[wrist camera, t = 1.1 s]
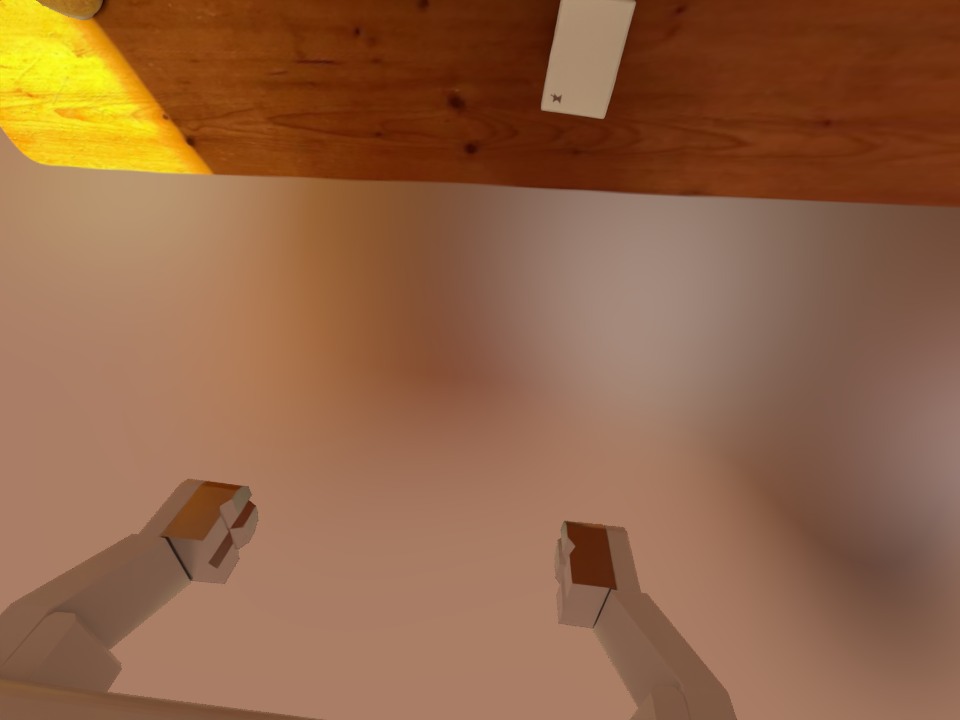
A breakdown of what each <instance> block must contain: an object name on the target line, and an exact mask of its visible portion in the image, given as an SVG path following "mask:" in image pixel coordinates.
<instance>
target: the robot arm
mask: <svg viewBox="0 0 960 720" xmlns="http://www.w3.org/2000/svg"><path fill="white" fill-rule="evenodd" d="M251 495H252V494H251V491H250V489H249V487H248V486H241V485H233V484H225V483H217V482H210V481H203V480H193V479H187V480H186V481H184V482H182V483H181V484H180V485H179V486H178V487H177V488H176V490H175V491H174V492H173V493H172V494H171V496H170V497H169V498H168V499H167V500H166V502H165V503H164V504H163V505H162V507H161V508H160V509H159V510H158V511H157V512H156V514H155V515H154V516H153V517H152V518H151V520H150V521H149V522H148V523H147V525H146V526H145V527H144V528H143V529H142V530H141V532H140V533H139V534H131V535H130V536H128V537H126V538H124V539H123V540H121V541H119V542H117V543H116V544H114V545H112V546H111V547H109V548H107V549H105V550H104V551H102V552H100V553H98V554H97V555H95V556H93V557H91V558H90V559H88V560H86V561H85V562H83V563H81V564H79V565H77V566H76V567H74V568H72V569H70V570H69V571H67V572H65V573H64V574H62V575H60V576H58V577H57V578H55V579H53V580H51V581H50V582H48V583H46V584H44V585H43V586H41V587H40V588H37V589H36V590H34V591H32V592H31V593H29V594H27V595H25V596H24V597H22V598H20V599H19V600H17V601H15V602H13V603H11V604H10V605H9V607H7V609H6V610H5V611H4V612H3V613H2V614H1V615H0V720H323V719H315V718H308V717H300V716H291V715H284V714H276V713H269V712H261V711H253V710H245V709H237V708H230V707H222V706H214V705H206V704H198V703H191V702H183V701H175V700H167V699H159V698H152V697H144V696H136V695H128V694H120V693H112V692H107V691H108V689H109V688H110V686H111V685H112V683H113V682H114V680H115V679H116V677H117V676H118V674H119V673H120V671H121V663H120V661H119V660H118V659H117V658H116V657H115V656H114V655H113V654H112V653H111V652H110V651H109V650H110V649H111V648H112V647H113V646H115V645H116V644H117V643H118V642H119V641H121V640H122V639H123V638H124V637H126V636H127V635H128V634H129V633H131V632H132V631H133V630H134V629H135V628H137V627H138V626H139V625H140V624H142V623H143V622H144V621H145V620H146V619H148V618H149V617H150V616H151V615H153V614H154V613H155V612H156V611H157V610H158V609H160V608H161V607H162V606H164V605H165V604H166V603H167V602H168V601H170V600H171V599H172V598H173V597H175V596H176V595H177V594H178V593H179V592H181V591H182V590H183V589H184V588H185V587H187V586H188V585H189V584H190V583H191V581H199V582H210V583H221V584H225V583H226V581H227V579H228V578H229V576H230V574H231V572H232V570H233V569H234V567H235V566H236V564H237V562H238V560H239V551H238V550H239V549H240V548H242V547H243V546H244V545H246V544H247V543H249V541H250V540H251V538H252V536H253V534H254V532H255V529H256V526H257V522H258V511H257V508H256V505H254V504H253V503H252V502H251V501H249V499H250V497H251ZM555 578H556V579H557V581H558V582H559V584H560V586H559V589H558V592H557V610H558V623H559V624H566V625H572V626H579V627H586V628H592V629H593V631H594V633H595V635H596V637H597V638H598V640H599V642H600V643H601V645H602V646H603V648H604V650H605V652H606V654H607V655H608V657H609V659H610V660H611V662H612V664H613V666H614V667H615V669H616V671H617V673H618V674H619V676H620V678H621V679H622V681H623V683H624V684H625V686H626V688H627V690H628V691H629V693H630V695H631V696H632V698H633V700H634V702H635V703H636V705H637V707H638V709H637V711H636V712H635V714H634V715H633V716H632V718H631V719H630V720H737V718H736V715H735V712H734V709H733V706H732V703H731V700H730V697H729V694H728V692H727V690H726V689H725V688H724V687H723V686H722V684H721V683H720V682H719V681H718V680H717V678H716V677H715V676H714V675H713V673H712V672H711V671H710V670H709V668H708V667H707V666H706V665H705V664H704V663H703V661H702V660H701V659H700V657H699V656H698V655H697V654H696V653H695V652H694V650H693V649H692V648H691V646H690V645H689V644H688V643H687V642H686V640H685V639H684V638H683V637H682V636H681V634H680V633H679V632H678V631H677V629H676V628H675V627H674V626H673V625H672V623H671V622H670V621H669V620H668V619H667V617H666V616H665V615H664V614H663V612H662V611H661V610H660V609H659V607H658V606H657V605H656V604H655V603H654V601H653V600H652V599H651V598H650V596H649V595H648V594H646V593H641V591H640V586H639V582H638V577H637V573H636V569H635V564H634V560H633V556H632V551H631V547H630V543H629V538H628V534H627V531H626V530H625V528H624V527H616V526H605V525H602V524H592V523H582V522H571V521H564V522H563V524H562V527H561V538H560V539H559V540H558V542H557V546H556V553H555Z"/></svg>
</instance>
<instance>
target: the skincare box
mask: <svg viewBox="0 0 960 720" xmlns="http://www.w3.org/2000/svg"><path fill="white" fill-rule="evenodd" d="M635 5H636V2H635V0H561V1H560V6H559V12H558V17H557V23H556V28H555V33H554V39H553V44H552V48H551V52H550V57H549V64H548V69H547V74H546V80H545V85H544V91H543V97H542V102H541V110H543V111H550V112H558V113H565V114H572V115H579V116H586V117H592V118H599V119H603V118H604V117H605V114H606V111H607V108H608V105H609V101H610V98H611V95H612V91H613V88H614V84H615V80H616V76H617V72H618V68H619V64H620V60H621V56H622V53H623V49H624V45H625V42H626V38H627V34H628V30H629V27H630V23H631V19H632V16H633V12H634V8H635Z"/></svg>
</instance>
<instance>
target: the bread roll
mask: <svg viewBox="0 0 960 720" xmlns="http://www.w3.org/2000/svg"><path fill="white" fill-rule="evenodd" d="M36 1H38V2H39V3H41V4H42V5H43V6H46V7H48V8H49V9H52V10H54V11H56V12H59V13H61V14H63V15H66V16H68V17H72V18H75V19H78V20H88V19H90V18H92V17H93V15H94V14H95V13H96V12H98V10H99V9H100V7H101V5H102V2H103V0H36Z"/></svg>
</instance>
